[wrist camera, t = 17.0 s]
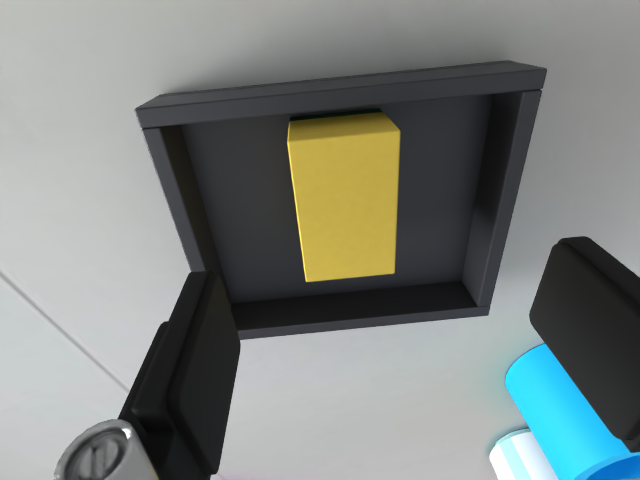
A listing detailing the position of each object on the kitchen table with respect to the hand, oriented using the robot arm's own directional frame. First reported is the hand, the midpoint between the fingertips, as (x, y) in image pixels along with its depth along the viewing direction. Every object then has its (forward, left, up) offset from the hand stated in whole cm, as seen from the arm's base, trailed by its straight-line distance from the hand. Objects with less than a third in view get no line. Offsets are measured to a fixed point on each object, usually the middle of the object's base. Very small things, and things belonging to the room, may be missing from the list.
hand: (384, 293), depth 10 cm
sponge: (+1, 0, -10) cm, 10 cm away
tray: (+2, 0, -10) cm, 11 cm away
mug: (+20, +19, -11) cm, 30 cm away
